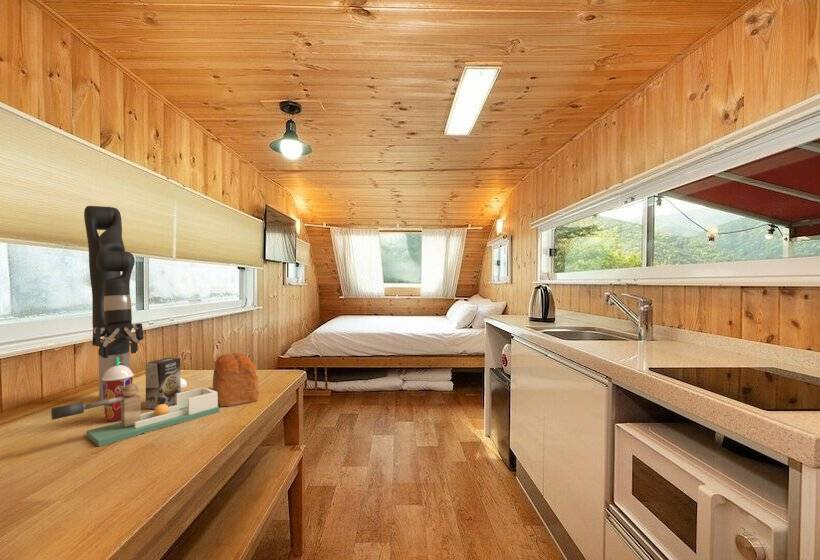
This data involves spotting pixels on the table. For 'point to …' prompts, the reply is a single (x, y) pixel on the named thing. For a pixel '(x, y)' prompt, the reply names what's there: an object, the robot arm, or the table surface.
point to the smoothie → (115, 389)
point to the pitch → (161, 417)
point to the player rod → (128, 404)
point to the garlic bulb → (183, 383)
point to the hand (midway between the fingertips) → (119, 355)
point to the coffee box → (162, 382)
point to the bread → (235, 380)
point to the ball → (161, 410)
